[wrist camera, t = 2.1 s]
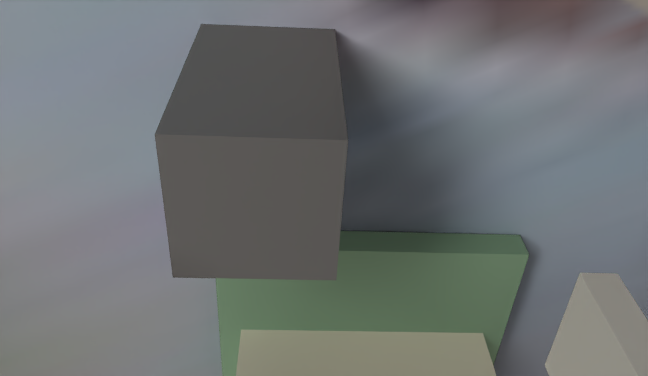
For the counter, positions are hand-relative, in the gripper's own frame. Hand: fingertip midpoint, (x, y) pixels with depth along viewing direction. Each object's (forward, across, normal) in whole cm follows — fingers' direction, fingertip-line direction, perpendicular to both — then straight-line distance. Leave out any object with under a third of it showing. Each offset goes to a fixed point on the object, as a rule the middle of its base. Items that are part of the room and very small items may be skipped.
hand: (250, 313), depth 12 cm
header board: (+10, +4, -13) cm, 17 cm away
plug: (+10, 0, +1) cm, 10 cm away
